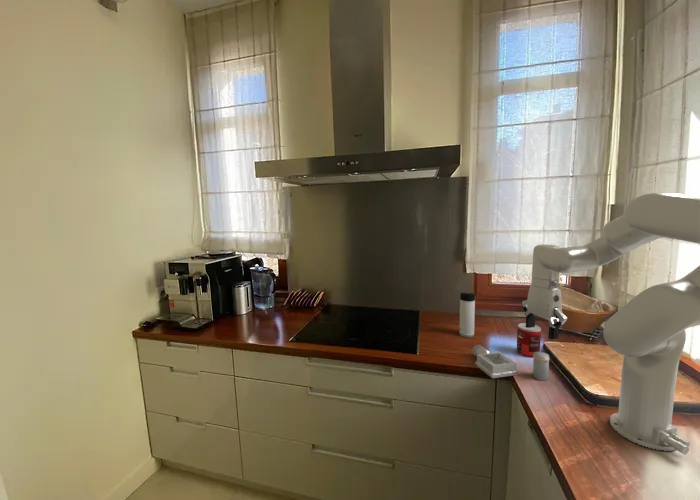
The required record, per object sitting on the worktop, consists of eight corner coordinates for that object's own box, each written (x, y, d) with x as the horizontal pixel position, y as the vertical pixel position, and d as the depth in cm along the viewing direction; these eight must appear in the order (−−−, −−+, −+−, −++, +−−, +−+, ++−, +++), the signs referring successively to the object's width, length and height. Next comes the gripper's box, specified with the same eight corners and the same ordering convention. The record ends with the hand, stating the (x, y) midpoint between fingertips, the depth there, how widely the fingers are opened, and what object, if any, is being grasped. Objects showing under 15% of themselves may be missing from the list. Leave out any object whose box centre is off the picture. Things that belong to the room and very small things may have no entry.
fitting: (518, 374, 106) (518, 362, 105) (492, 378, 104) (492, 366, 103) (488, 354, 121) (489, 343, 121) (465, 356, 119) (466, 346, 119)
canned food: (518, 347, 127) (519, 321, 125) (541, 352, 122) (542, 325, 120) (514, 354, 121) (515, 327, 119) (538, 359, 116) (539, 331, 114)
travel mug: (458, 336, 139) (459, 293, 136) (460, 331, 144) (460, 290, 142) (473, 338, 136) (474, 294, 133) (474, 333, 142) (475, 291, 139)
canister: (551, 379, 102) (553, 357, 101) (539, 381, 101) (540, 358, 100) (540, 372, 107) (541, 350, 106) (529, 374, 106) (530, 352, 105)
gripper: (578, 288, 92) (574, 342, 95) (534, 276, 109) (531, 322, 112) (557, 290, 91) (553, 345, 93) (515, 277, 108) (512, 324, 110)
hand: (541, 332), depth 102 cm, fingers open, 9 cm apart
